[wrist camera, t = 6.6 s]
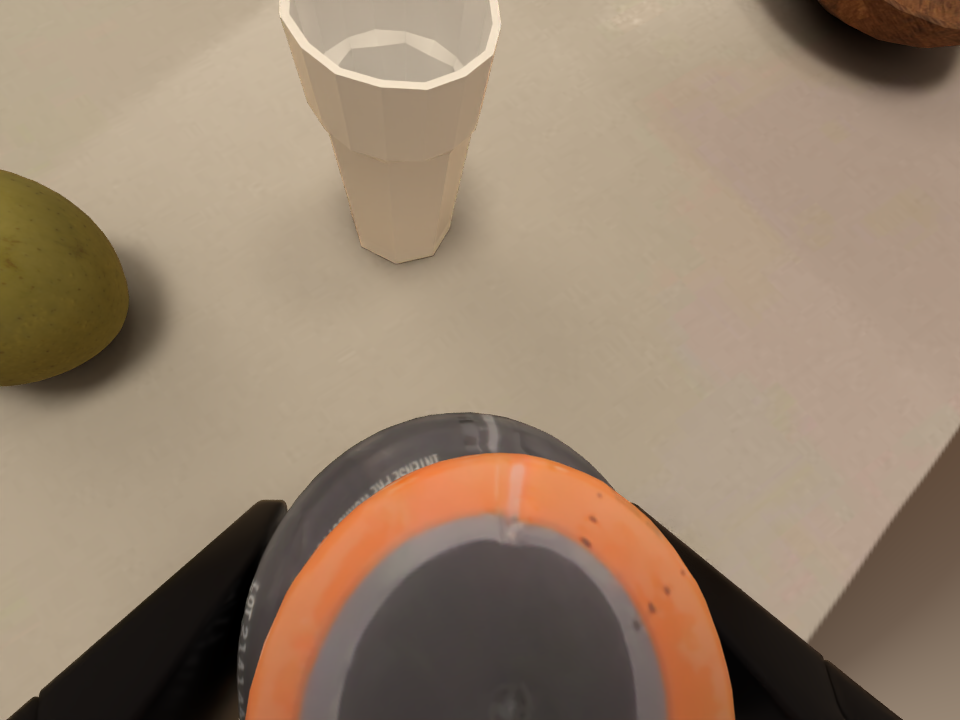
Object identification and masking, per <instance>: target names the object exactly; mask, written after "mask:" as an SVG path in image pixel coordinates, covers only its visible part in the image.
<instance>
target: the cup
mask: <svg viewBox="0 0 960 720" xmlns="http://www.w3.org/2000/svg"><path fill="white" fill-rule="evenodd" d="M279 16H280V19H281V22H282V25H283V28H284V31H285V34H286V37H287V41H288V44H289V47H290V50H291V53H292V56H293V59H294V62H295V65H296V69H297V72H298V75H299V78H300V81H301V84H302V87H303V90H304V94H305V97H306V100H307V103H308V104H309V106H310V107H311V109H312V111H313V112H314V114H315V115H316V117H317V118H318V120H319V121H320V123H321V124H322V126H323V127H324V129H325V130H326V131H327V132H328V133H329V136H330V140H331V143H332V147H333V150H334V153H335V157H336V160H337V164H338V167H339V171H340V174H341V177H342V181H343V184H344V188H345V191H346V194H347V198H348V201H349V206H350V210H351V215H352V218H353V221H354V224H355V228H356V231H357V234H358V237H359V240H360V244H361V247H363V248H365V249H367V250H369V251H371V252H373V253H375V254H377V255H379V256H381V257H383V258H385V259H387V260H389V261H391V262H393V263H395V264H398V263H403V262H407V261H411V260H416V259H420V258H424V257H429V256H433V255H434V253H435V252H436V250H437V248H438V247H439V245H440V243H441V242H442V240H443V238H444V237H445V235H446V234H447V232H448V230H449V229H450V226H451V219H452V214H453V210H454V206H455V201H456V197H457V193H458V189H459V185H460V181H461V176H462V172H463V168H464V164H465V160H466V155H467V151H468V147H469V143H470V139H471V134H472V133H473V132H474V131H475V130H476V126H477V123H478V119H479V115H480V112H481V108H482V104H483V100H484V96H485V92H486V88H487V84H488V79H489V75H490V71H491V67H492V63H493V58H494V54H495V50H496V46H497V42H498V38H499V33H500V29H501V19H500V13H499V7H498V0H280V10H279Z"/></svg>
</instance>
